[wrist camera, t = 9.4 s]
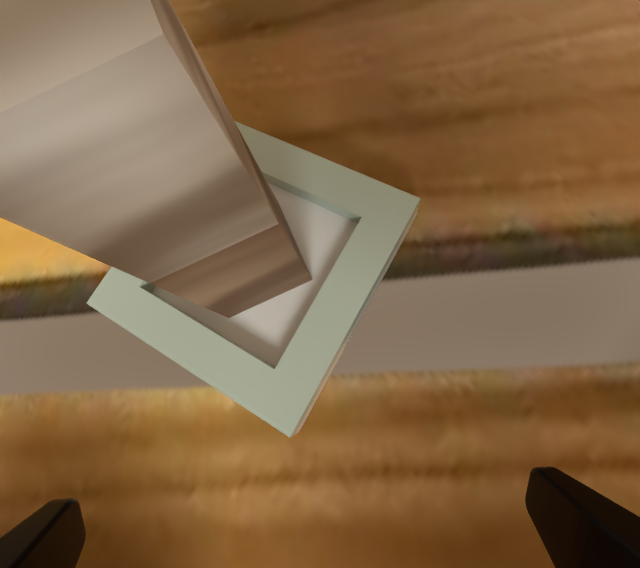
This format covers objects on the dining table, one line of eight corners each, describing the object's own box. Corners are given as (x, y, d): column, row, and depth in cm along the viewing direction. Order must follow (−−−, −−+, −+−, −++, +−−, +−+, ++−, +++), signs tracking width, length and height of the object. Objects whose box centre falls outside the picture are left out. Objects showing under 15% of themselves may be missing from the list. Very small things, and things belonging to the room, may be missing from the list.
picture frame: (299, 431, 17) (290, 437, 15) (114, 310, 20) (86, 303, 18) (415, 217, 19) (420, 198, 17) (230, 137, 22) (216, 113, 20)
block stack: (312, 279, 18) (164, 33, 5) (228, 318, 18) (-113, 167, 5) (279, 204, 19) (98, -133, 7) (201, 240, 19) (-122, -24, 7)
